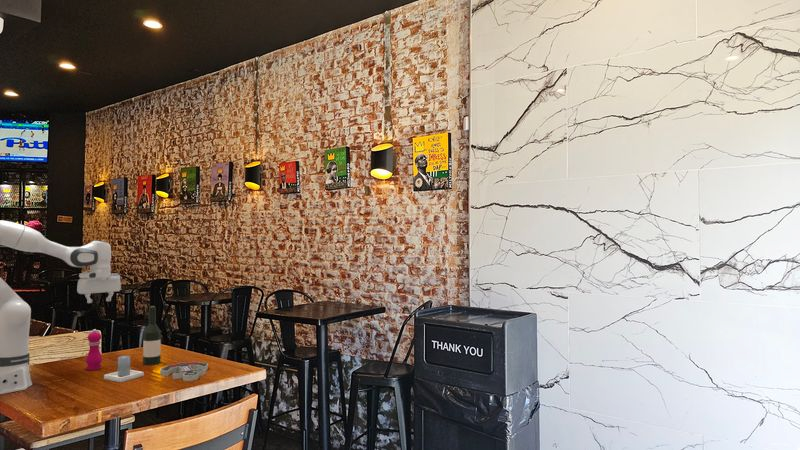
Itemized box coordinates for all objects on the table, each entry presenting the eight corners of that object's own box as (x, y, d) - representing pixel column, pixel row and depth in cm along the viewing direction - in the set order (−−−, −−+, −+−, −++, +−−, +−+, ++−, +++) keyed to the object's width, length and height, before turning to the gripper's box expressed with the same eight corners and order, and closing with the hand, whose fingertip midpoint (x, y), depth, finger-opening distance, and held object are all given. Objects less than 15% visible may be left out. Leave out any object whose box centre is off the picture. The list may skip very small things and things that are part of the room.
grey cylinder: (122, 377, 245) (122, 358, 246) (115, 376, 248) (115, 357, 248) (132, 375, 250) (132, 356, 250) (125, 374, 252) (125, 355, 253)
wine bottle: (143, 362, 279) (143, 305, 280) (160, 361, 283) (161, 304, 283) (142, 366, 272) (143, 307, 272) (160, 364, 275) (161, 306, 276)
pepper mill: (96, 370, 262) (97, 330, 263) (82, 370, 262) (83, 330, 263) (105, 367, 269) (105, 327, 270) (91, 366, 269) (91, 327, 270)
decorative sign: (204, 359, 275) (217, 372, 250) (204, 365, 275) (217, 378, 250) (157, 364, 264) (166, 378, 238) (157, 370, 264) (166, 385, 238)
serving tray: (120, 382, 241) (120, 377, 241) (103, 379, 246) (103, 374, 246) (143, 376, 252) (143, 372, 252) (127, 373, 257) (127, 369, 257)
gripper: (116, 272, 268) (115, 299, 268) (75, 274, 250) (74, 303, 250) (124, 273, 265) (123, 300, 265) (83, 274, 247) (82, 304, 247)
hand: (99, 302), depth 257 cm, fingers open, 8 cm apart
